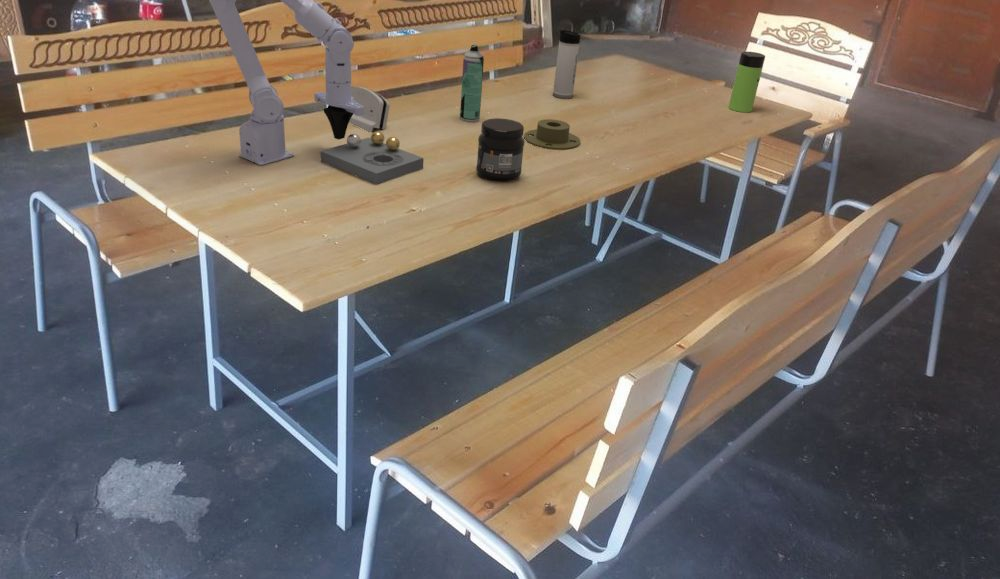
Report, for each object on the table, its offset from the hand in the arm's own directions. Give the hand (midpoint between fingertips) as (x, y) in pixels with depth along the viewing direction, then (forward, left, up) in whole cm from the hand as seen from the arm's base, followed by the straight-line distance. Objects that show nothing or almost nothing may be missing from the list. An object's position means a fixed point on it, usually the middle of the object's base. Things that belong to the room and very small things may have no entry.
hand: (339, 138), depth 183 cm
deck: (0, -11, -3) cm, 11 cm away
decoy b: (+6, -12, +1) cm, 13 cm away
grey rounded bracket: (+20, +13, -4) cm, 24 cm away
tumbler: (+124, -50, -4) cm, 134 cm away
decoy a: (+6, -7, +1) cm, 9 cm away
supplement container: (+18, -34, -4) cm, 39 cm away
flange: (+49, -28, -4) cm, 56 cm away
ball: (0, -5, +1) cm, 5 cm away
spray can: (+45, -3, -4) cm, 45 cm away
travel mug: (+87, -6, -4) cm, 87 cm away
